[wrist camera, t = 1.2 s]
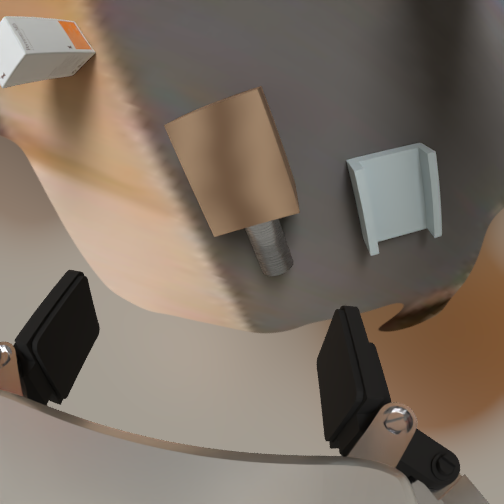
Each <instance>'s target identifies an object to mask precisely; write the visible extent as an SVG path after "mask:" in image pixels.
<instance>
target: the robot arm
mask: <svg viewBox="0 0 504 504" xmlns="http://www.w3.org/2000/svg"><path fill="white" fill-rule="evenodd" d="M98 335H99V323H98V320H97V316H96V312H95V308H94V305H93V300H92V296H91V292H90V288H89V283H88V279H87V277H86V276H84V274H83V272H79V271H74V270H68V271H67V272H66V273H65V275H64V276H63V277H62V278H61V279H60V281H59V282H58V283H57V284H56V286H55V287H54V288H53V289H52V290H51V292H50V293H49V294H48V296H47V297H46V298H45V299H44V301H43V302H42V303H41V305H40V306H39V307H38V308H37V310H36V311H35V312H34V314H33V315H32V316H31V318H30V319H29V321H28V322H27V323H26V325H25V326H24V328H23V329H22V330H21V332H20V333H19V335H18V336H17V337H16V339H15V342H16V343H15V344H14V346H13V345H12V344H10V343H8V342H0V504H489V503H488V501H487V500H486V499H485V498H484V497H483V495H482V494H481V493H480V492H479V491H478V489H477V488H476V487H475V486H474V485H473V484H472V482H471V481H470V480H469V479H468V477H467V476H466V475H463V476H461V475H460V473H459V472H460V464H459V460H458V458H457V457H456V455H455V454H453V453H452V452H451V451H449V450H448V449H446V448H445V447H443V446H442V445H440V444H439V443H437V442H435V441H434V440H433V439H431V438H430V437H428V436H427V435H425V434H424V433H422V432H421V431H419V430H418V429H416V427H417V418H416V416H415V414H414V412H413V411H412V410H411V409H410V408H409V407H408V406H407V405H404V404H402V403H397V402H393V403H392V402H391V398H390V395H389V391H388V387H387V384H386V381H385V377H384V374H383V370H382V367H381V363H380V360H379V357H378V353H377V350H376V347H375V345H374V344H373V343H369V341H368V338H367V334H366V332H365V328H364V325H363V322H362V319H361V316H360V312H359V309H358V308H357V307H353V306H341V308H340V309H336V310H335V313H334V315H333V318H332V321H331V324H330V326H329V329H328V332H327V334H326V337H325V340H324V342H323V345H322V347H321V350H320V353H319V355H318V358H317V372H318V380H319V389H320V397H321V405H322V406H321V407H322V416H323V426H324V435H325V440H326V441H330V448H339V452H340V454H341V455H342V456H298V455H276V454H258V453H246V452H236V451H227V450H218V449H211V448H204V447H197V446H191V445H185V444H180V443H174V442H169V441H164V440H159V439H154V438H150V437H146V436H142V435H137V434H133V433H129V432H125V431H122V430H118V429H114V428H111V427H107V426H104V425H101V424H97V423H94V422H91V421H88V420H85V419H82V418H79V417H76V416H73V415H70V414H67V413H65V412H62V411H59V410H56V409H54V408H51V407H48V406H47V403H48V401H49V400H50V401H52V402H54V403H57V404H61V403H62V400H63V399H66V398H67V396H68V394H69V392H70V390H71V388H72V386H73V384H74V382H75V380H76V378H77V375H78V374H79V372H80V370H81V368H82V366H83V364H84V362H85V360H86V358H87V356H88V354H89V352H90V350H91V348H92V346H93V344H94V342H95V340H96V339H97V337H98Z"/></svg>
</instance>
